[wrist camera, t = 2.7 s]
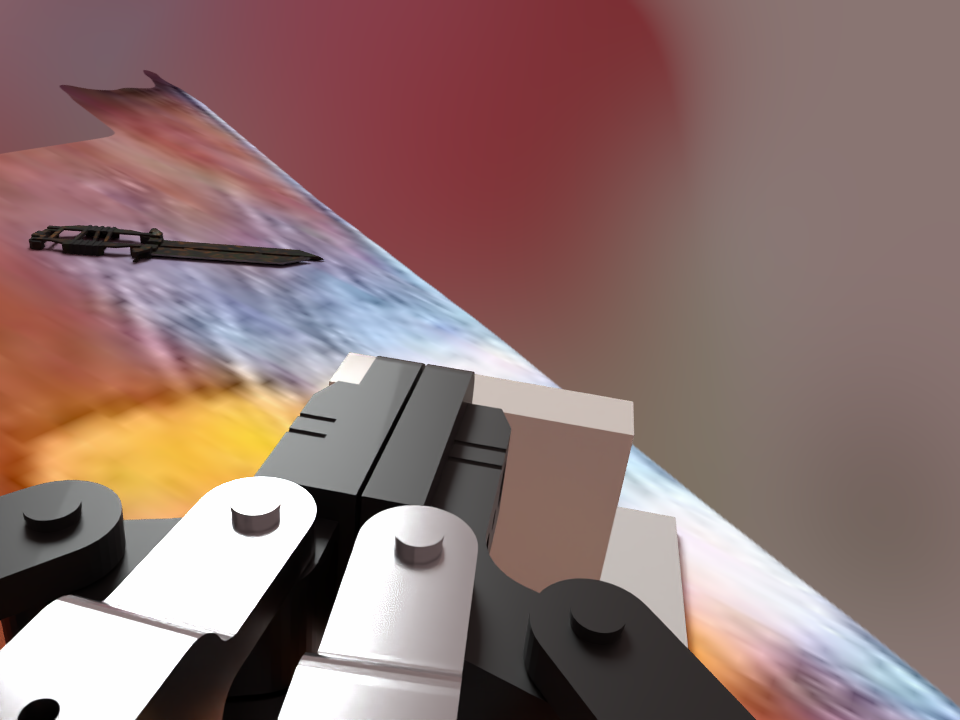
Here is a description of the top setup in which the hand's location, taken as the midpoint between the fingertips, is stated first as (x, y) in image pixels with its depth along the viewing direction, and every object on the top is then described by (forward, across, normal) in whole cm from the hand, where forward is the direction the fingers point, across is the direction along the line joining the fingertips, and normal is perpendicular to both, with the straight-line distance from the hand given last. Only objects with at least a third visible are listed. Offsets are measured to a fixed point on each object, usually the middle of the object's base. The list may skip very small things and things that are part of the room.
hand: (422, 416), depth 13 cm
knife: (+55, +33, +21) cm, 68 cm away
